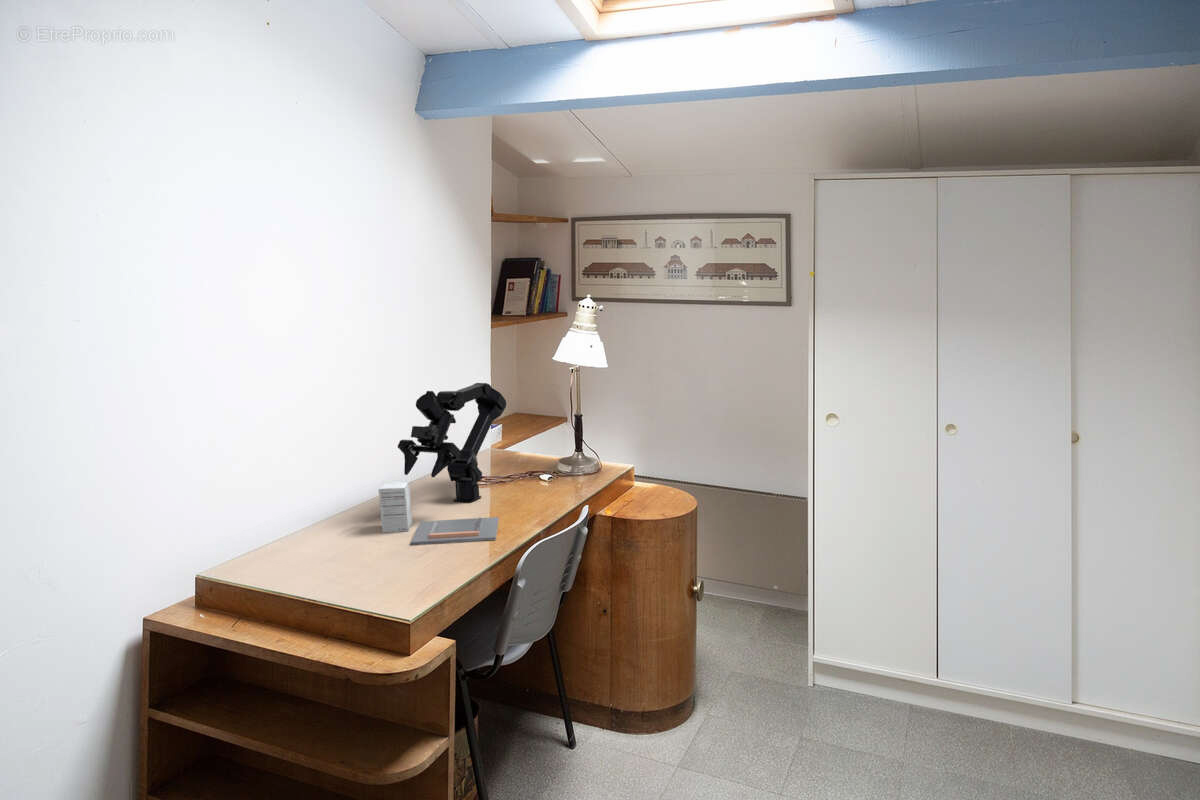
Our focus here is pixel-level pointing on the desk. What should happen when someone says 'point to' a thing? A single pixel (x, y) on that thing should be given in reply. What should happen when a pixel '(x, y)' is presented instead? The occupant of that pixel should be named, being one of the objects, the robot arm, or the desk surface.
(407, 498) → the supplement box
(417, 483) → the desk surface
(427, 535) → the rail stand
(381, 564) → the desk surface
